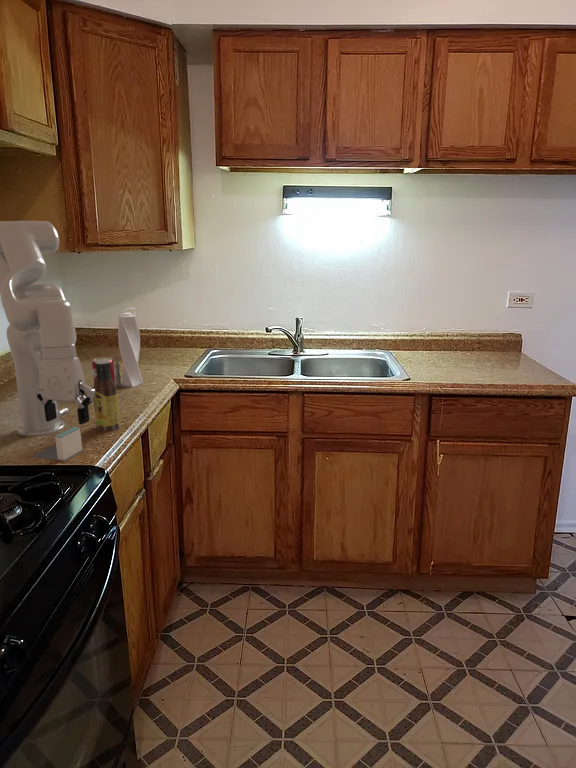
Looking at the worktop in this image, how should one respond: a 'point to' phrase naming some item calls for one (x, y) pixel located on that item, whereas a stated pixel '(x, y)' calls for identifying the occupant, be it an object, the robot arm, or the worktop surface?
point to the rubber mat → (51, 454)
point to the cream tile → (68, 443)
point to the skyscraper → (128, 350)
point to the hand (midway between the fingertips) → (67, 421)
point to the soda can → (112, 370)
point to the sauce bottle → (105, 398)
